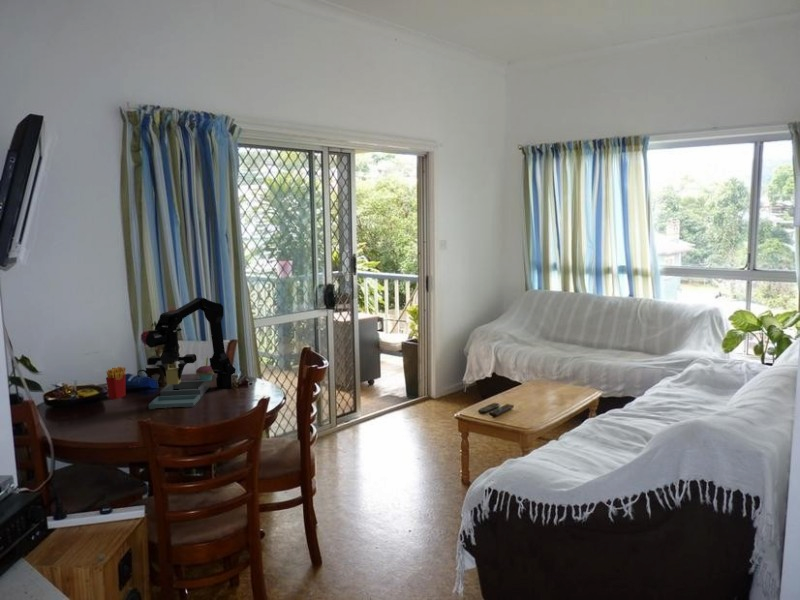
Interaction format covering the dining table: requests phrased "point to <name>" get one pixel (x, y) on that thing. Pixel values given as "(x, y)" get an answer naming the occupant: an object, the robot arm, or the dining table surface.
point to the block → (172, 376)
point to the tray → (174, 401)
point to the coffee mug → (155, 374)
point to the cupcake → (205, 372)
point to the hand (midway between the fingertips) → (173, 379)
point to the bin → (186, 388)
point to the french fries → (116, 382)
